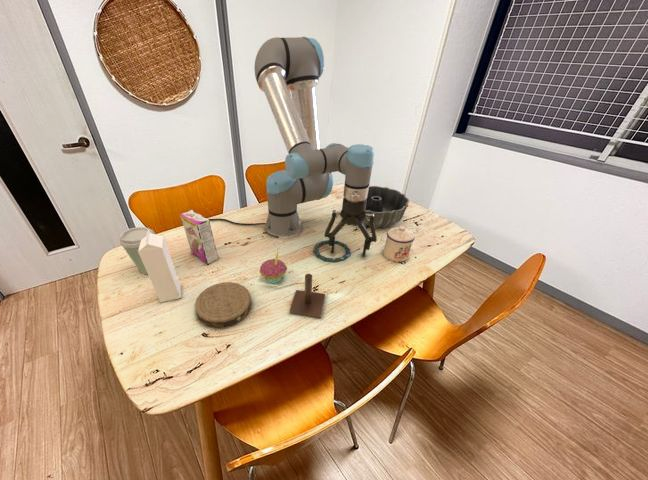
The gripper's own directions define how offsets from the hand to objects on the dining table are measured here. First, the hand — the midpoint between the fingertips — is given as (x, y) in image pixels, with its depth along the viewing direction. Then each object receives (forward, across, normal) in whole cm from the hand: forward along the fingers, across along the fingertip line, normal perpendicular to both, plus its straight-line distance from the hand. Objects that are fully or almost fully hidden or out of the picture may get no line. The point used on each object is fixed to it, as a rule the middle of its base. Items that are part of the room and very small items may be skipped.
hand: (347, 254), depth 102 cm
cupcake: (0, -23, -19) cm, 30 cm away
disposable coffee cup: (0, -67, -22) cm, 70 cm away
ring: (-1, -6, 0) cm, 6 cm away
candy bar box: (0, -52, -11) cm, 53 cm away
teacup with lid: (0, +18, +4) cm, 19 cm away
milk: (0, -53, -32) cm, 62 cm away
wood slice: (0, -34, -34) cm, 48 cm away
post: (0, -10, -28) cm, 30 cm away
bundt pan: (0, +9, +30) cm, 31 cm away
